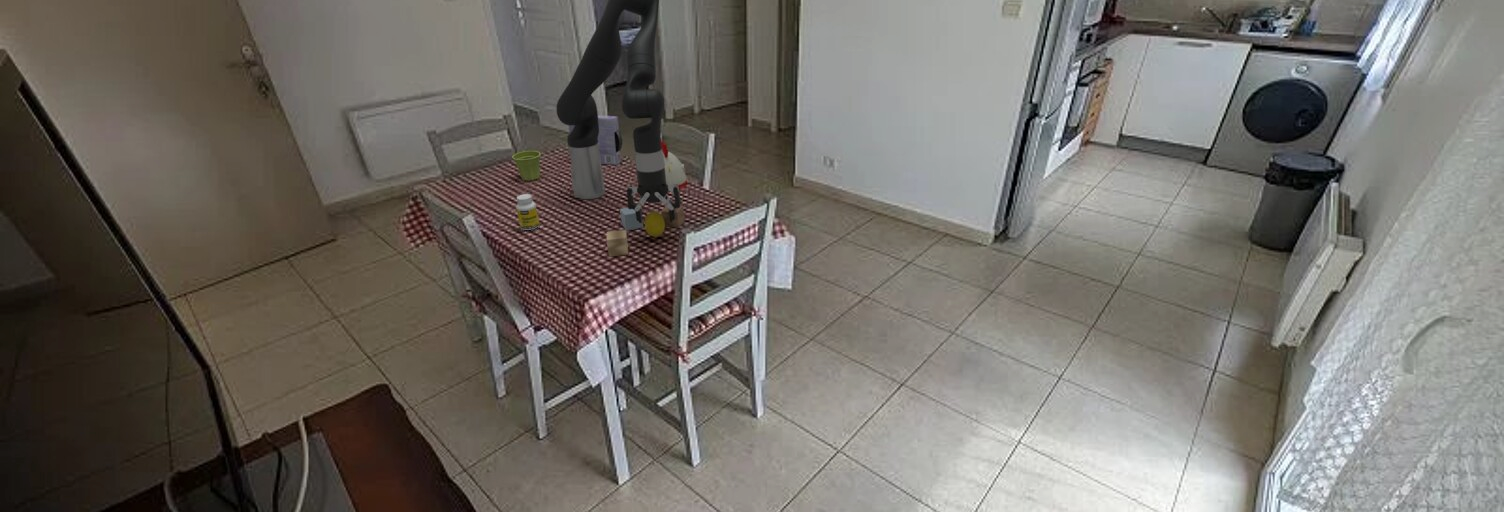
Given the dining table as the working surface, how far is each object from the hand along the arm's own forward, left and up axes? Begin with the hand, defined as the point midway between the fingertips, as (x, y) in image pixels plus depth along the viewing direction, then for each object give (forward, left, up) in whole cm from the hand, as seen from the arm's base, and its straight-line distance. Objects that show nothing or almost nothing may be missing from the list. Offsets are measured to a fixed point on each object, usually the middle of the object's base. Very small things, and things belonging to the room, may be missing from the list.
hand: (656, 221), depth 166 cm
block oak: (-10, -8, -5) cm, 13 cm away
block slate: (-9, +8, -5) cm, 13 cm away
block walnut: (+3, +9, -5) cm, 11 cm away
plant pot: (-52, +49, -5) cm, 71 cm away
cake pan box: (-31, +65, -5) cm, 72 cm away
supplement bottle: (-39, +8, -5) cm, 40 cm away
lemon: (-1, 0, -5) cm, 5 cm away
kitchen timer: (-3, +41, -5) cm, 41 cm away
